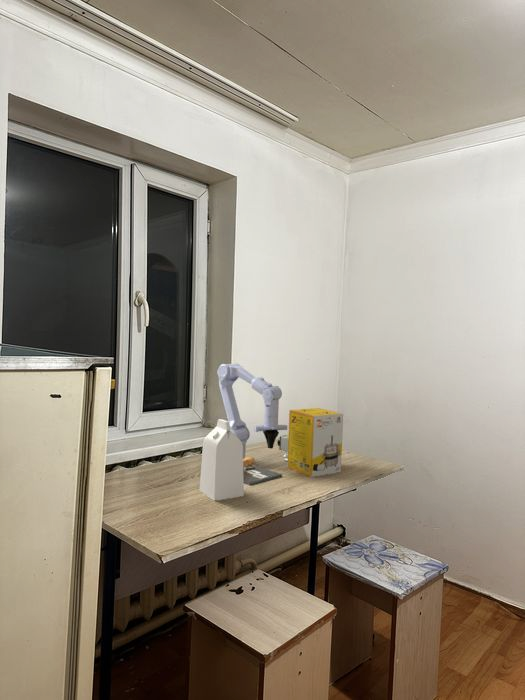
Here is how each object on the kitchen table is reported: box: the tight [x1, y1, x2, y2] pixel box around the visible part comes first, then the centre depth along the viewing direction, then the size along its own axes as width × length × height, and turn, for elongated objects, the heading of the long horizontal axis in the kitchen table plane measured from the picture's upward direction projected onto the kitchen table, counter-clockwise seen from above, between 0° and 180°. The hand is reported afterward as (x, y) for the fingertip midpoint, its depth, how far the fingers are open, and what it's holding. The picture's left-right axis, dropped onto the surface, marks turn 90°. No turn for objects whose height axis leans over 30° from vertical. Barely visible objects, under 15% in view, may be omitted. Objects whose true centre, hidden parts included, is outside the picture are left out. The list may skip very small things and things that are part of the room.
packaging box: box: [286, 407, 344, 478], centre depth 202 cm, size 16×16×25 cm
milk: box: [198, 418, 245, 502], centre depth 168 cm, size 12×12×26 cm
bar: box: [243, 456, 255, 467], centre depth 194 cm, size 16×4×3 cm, turn 145°
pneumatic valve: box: [276, 434, 288, 462], centre depth 216 cm, size 6×12×12 cm, turn 51°
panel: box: [243, 463, 283, 486], centre depth 192 cm, size 20×18×2 cm
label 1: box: [246, 470, 261, 475], centre depth 191 cm, size 5×4×1 cm
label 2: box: [253, 474, 268, 479], centre depth 186 cm, size 5×4×1 cm
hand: (270, 447), depth 197 cm, fingers closed
